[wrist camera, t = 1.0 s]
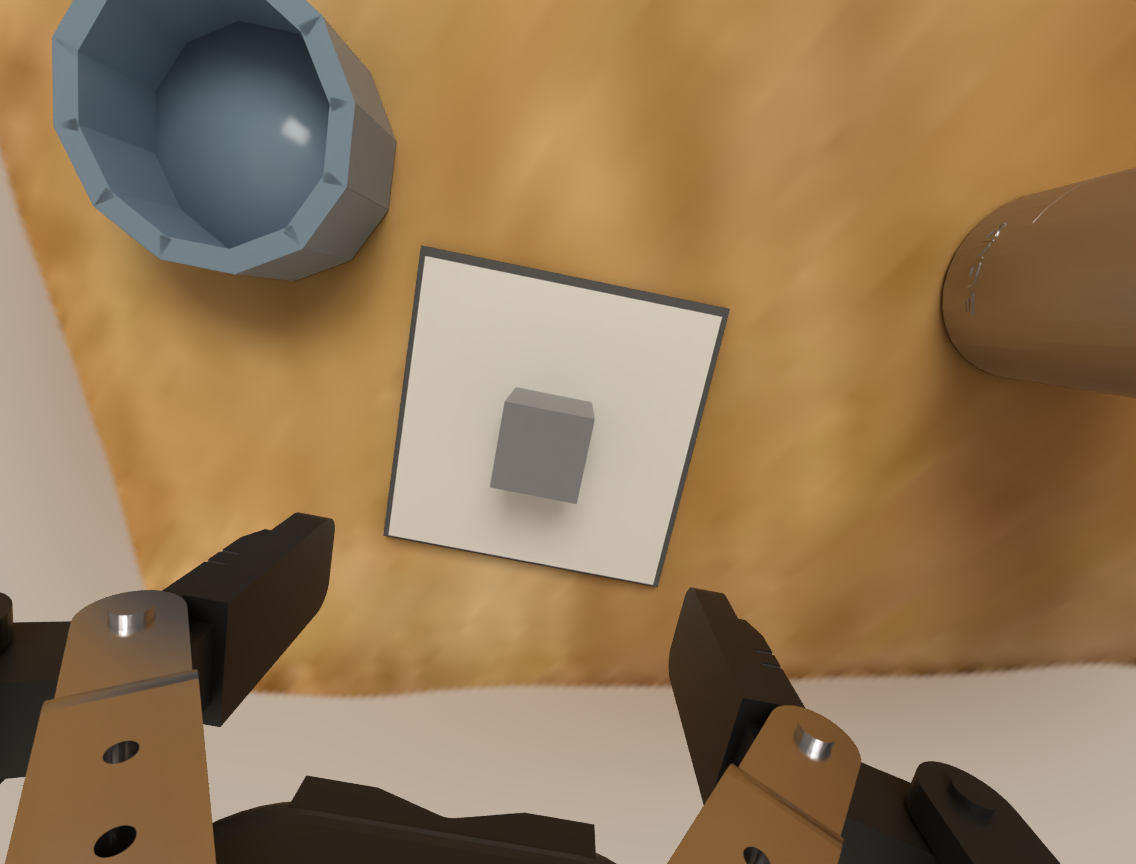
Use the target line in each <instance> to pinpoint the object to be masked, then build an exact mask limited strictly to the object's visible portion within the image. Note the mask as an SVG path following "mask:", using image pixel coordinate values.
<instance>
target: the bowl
mask: <svg viewBox="0 0 1136 864" xmlns="http://www.w3.org/2000/svg"><path fill="white" fill-rule="evenodd" d="M52 65H53V124H54V128H55V130H56V132H57V134H58V136H59V138H60V140H61V142H62V144H63V146H64V148H65V150H66V152H67V154H68V156H69V158H70V160H71V162H72V164H73V166H74V168H75V170H76V172H77V174H78V176H79V178H80V180H81V182H82V184H83V186H84V188H85V190H86V192H87V194H88V196H89V198H90V200H91V202H92V204H93V206H94V207H95V208H96V209H98V210H99V211H100V212H101V213H103V214H104V215H105V216H106V217H108V218H109V219H110V220H111V221H113V222H114V223H115V224H116V225H117V226H119V227H120V228H121V229H122V230H124V231H125V232H126V233H127V234H129V235H130V236H131V237H132V238H134V239H135V240H136V241H137V242H139V243H140V244H141V245H142V246H144V247H145V248H146V249H147V250H149V251H150V252H151V253H152V254H154V255H155V256H156V257H157V258H158V259H161V260H166V261H171V262H176V263H181V264H186V265H191V266H196V267H201V268H206V269H211V270H215V271H220V272H225V273H230V274H236V275H245V276H254V277H263V278H272V279H281V280H290V281H296V280H299V279H302V278H304V277H307V276H310V275H313V274H315V273H318V272H321V271H323V270H326V269H329V268H331V267H334V266H337V265H340V264H342V263H345V262H348V261H350V260H352V258H353V257H354V256H355V254H356V253H357V252H358V250H359V249H360V248H361V246H362V245H363V244H364V242H365V241H366V240H367V238H368V237H369V236H370V234H371V233H372V232H373V230H374V229H375V228H376V226H377V225H378V223H379V222H380V221H381V219H382V218H383V217H384V215H385V214H386V213H387V211H388V210H389V201H390V192H391V184H392V175H393V166H394V158H395V149H396V139H395V137H394V134H393V131H392V129H391V126H390V123H389V121H388V118H387V115H386V113H385V110H384V107H383V105H382V102H381V99H380V97H379V94H378V91H377V89H376V86H375V83H374V81H373V78H372V75H371V73H370V71H369V70H368V69H367V68H366V67H365V65H364V64H363V63H362V62H361V61H360V60H359V58H358V57H357V56H356V55H355V54H354V53H353V51H352V50H351V49H350V48H349V47H348V45H347V44H346V43H345V42H344V41H343V40H342V38H341V37H340V36H339V35H338V34H337V33H336V31H335V30H334V29H333V28H332V27H331V26H330V24H329V23H328V22H327V21H326V20H325V18H324V17H323V16H322V15H321V14H320V13H319V12H318V11H317V10H316V9H315V8H313V7H312V6H311V5H310V4H309V3H308V2H307V1H306V0H73V2H72V3H71V5H70V7H69V9H68V10H67V12H66V14H65V16H64V17H63V19H62V21H61V23H60V25H59V26H58V28H57V30H56V32H55V33H54V35H53V37H52Z"/></svg>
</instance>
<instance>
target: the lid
mask: <svg viewBox="0 0 1136 864" xmlns="http://www.w3.org/2000/svg"><path fill="white" fill-rule="evenodd" d="M721 319H722V317H720V316H715V315H710V314H705V313H700V312H696V311H691V310H686V309H681V308H676V307H671V306H666V305H661V304H657V303H652V302H647V301H642V300H637V299H632V298H627V297H623V296H618V295H613V294H608V293H603V292H598V291H593V290H588V289H584V288H579V287H574V286H569V285H564V284H559V283H554V282H549V281H545V280H540V279H535V278H530V277H525V276H520V275H515V274H510V273H506V272H501V271H496V270H491V269H486V268H481V267H476V266H472V265H467V264H462V263H457V262H452V261H447V260H442V259H437V258H433V257H428V256H425V261H424V269H423V276H422V284H421V291H420V299H419V307H418V314H417V322H416V329H415V337H414V345H413V352H412V360H411V367H410V375H409V382H408V390H407V398H406V405H405V413H404V420H403V428H402V436H401V443H400V451H399V458H398V466H397V473H396V481H395V489H394V496H393V504H392V511H391V519H390V527H389V534H388V535H391V536H396V537H401V538H407V539H412V540H417V541H423V542H428V543H433V544H439V545H444V546H449V547H454V548H460V549H465V550H470V551H476V552H481V553H486V554H492V555H497V556H502V557H508V558H513V559H518V560H523V561H529V562H534V563H539V564H545V565H550V566H555V567H561V568H566V569H571V570H576V571H582V572H587V573H592V574H598V575H603V576H608V577H614V578H619V579H624V580H629V581H635V582H640V583H645V584H651V585H653V583H654V579H655V575H656V571H657V568H658V564H659V560H660V556H661V552H662V548H663V544H664V540H665V536H666V533H667V529H668V525H669V521H670V517H671V513H672V509H673V505H674V502H675V498H676V494H677V490H678V486H679V482H680V478H681V474H682V471H683V467H684V463H685V459H686V455H687V451H688V447H689V443H690V439H691V436H692V432H693V428H694V424H695V420H696V416H697V412H698V408H699V405H700V401H701V397H702V393H703V389H704V385H705V381H706V377H707V374H708V370H709V366H710V362H711V358H712V354H713V350H714V346H715V342H716V339H717V335H718V331H719V327H720V323H721Z"/></svg>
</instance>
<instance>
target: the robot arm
mask: <svg viewBox="0 0 1136 864" xmlns="http://www.w3.org/2000/svg"><path fill="white" fill-rule="evenodd" d="M942 310H943V315H944V321H945V326H946V329H947V332H948V334H949V336H950V338H951V341H952V343H953V345H954V346H955V347H956V348H957V350H958V351H959V352H960V354H961V355H962V356H963V357H964V358H965V359H966V360H967V361H969V362H970V363H971V364H972V365H974V366H975V367H976V368H978V369H980V370H983V371H985V372H987V373H989V374H991V375H995V376H1000V377H1005V378H1010V379H1017V380H1023V381H1030V382H1036V383H1043V384H1049V385H1056V386H1062V387H1067V388H1073V389H1080V390H1086V391H1093V392H1099V393H1106V394H1112V395H1119V396H1126V397H1132V398H1136V168H1133V169H1129V170H1125V171H1121V172H1117V173H1113V174H1108V175H1104V176H1101V177H1097V178H1093V179H1089V180H1085V181H1081V182H1078V183H1074V184H1070V185H1066V186H1062V187H1058V188H1055V189H1051V190H1047V191H1043V192H1039V193H1035V194H1032V195H1028V196H1024V197H1021V198H1019V199H1016V200H1014V201H1012V202H1010V203H1007V204H1005V205H1003V206H1001V207H1000V208H998V209H997V210H995V211H994V212H993V213H991V214H990V215H988V216H987V217H985V218H984V219H983V220H982V221H981V222H980V223H979V224H978V225H977V226H976V227H975V228H974V229H973V230H972V231H971V232H970V233H969V234H968V236H967V237H966V238H965V240H964V241H963V243H962V244H961V246H960V247H959V249H958V250H957V251H956V254H955V256H954V258H953V260H952V262H951V265H950V267H949V269H948V272H947V276H946V280H945V284H944V289H943V307H942ZM334 532H335V525H334V521H333V519H330V518H325V517H320V516H315V515H309V514H304V513H298V512H297V513H295V514H293V515H292V516H290V517H289V518H287V519H286V520H285V521H283V522H282V523H281V524H279V525H278V526H276V527H275V528H274V529H272V530H267V529H264V530H261V531H258V532H255V533H252V534H249V535H246V536H243V537H241V538H239V539H238V540H236V541H235V542H233V543H232V544H230V545H229V546H227V547H226V548H224V549H223V551H222V552H218V553H217V554H215V555H214V556H213V557H211V558H210V559H209V560H208V562H204V563H202V564H201V565H199V566H198V567H196V568H195V569H193V570H192V571H190V572H189V573H187V574H186V575H185V576H183V577H182V578H180V579H179V580H177V581H176V582H174V583H173V584H171V585H170V586H168V587H167V588H165V589H164V590H162V591H157V590H141V591H132V592H126V593H120V594H116V595H112V596H109V597H106V598H103V599H101V600H98V601H96V602H94V603H92V604H90V605H88V606H86V607H85V608H83V609H82V610H80V611H79V612H78V613H77V614H76V615H75V616H74V617H73V619H72V621H70V622H19V623H13V611H12V610H13V609H12V600H11V599H10V598H9V597H8V596H7V595H5V594H3V593H0V784H1V783H2V782H3V781H4V780H5V779H8V778H18V777H25V781H24V785H23V790H22V794H21V798H20V802H19V807H18V811H17V815H16V819H15V823H14V828H13V832H12V836H11V840H10V844H9V849H8V853H7V857H6V862H5V864H616V863H614V862H613V861H611V860H609V859H608V858H606V857H604V856H602V855H600V854H597V853H596V852H595V830H594V824H588V823H582V822H576V821H570V820H564V819H558V818H552V817H547V816H541V815H535V814H529V813H515V814H502V815H491V816H478V817H464V818H446V817H442V816H440V815H438V814H435V813H433V812H431V811H429V810H426V809H424V808H422V807H420V806H417V805H415V804H413V803H411V802H409V801H406V800H404V799H402V798H400V797H398V796H395V795H393V794H391V793H389V792H386V791H384V790H382V789H380V788H376V787H371V786H365V785H359V784H353V783H347V782H341V781H335V780H330V779H324V778H318V777H312V776H306V777H305V779H304V780H303V782H302V784H301V786H300V787H299V789H298V791H297V793H296V794H295V796H294V798H293V800H292V801H291V802H281V803H275V804H270V805H264V806H259V807H256V808H252V809H249V810H245V811H241V812H239V813H236V814H233V815H231V816H228V817H225V818H223V819H220V820H218V821H216V822H214V823H212V815H211V804H210V794H209V783H208V773H207V762H206V752H205V742H204V730H203V724H205V725H211V726H217V727H221V726H222V725H223V723H224V722H225V721H226V720H227V719H228V717H229V716H230V715H231V714H232V713H233V711H234V710H235V709H236V708H237V707H238V706H239V704H240V703H241V702H242V701H243V700H244V699H245V697H246V696H247V695H248V694H249V693H250V692H251V690H252V689H253V688H254V687H255V686H256V684H257V683H258V682H259V681H260V680H261V679H262V677H263V676H264V675H265V674H266V673H267V671H268V670H269V669H270V668H271V667H272V666H273V664H274V663H275V662H276V661H277V660H278V659H279V657H280V656H281V655H282V654H283V653H284V651H285V650H286V649H287V648H288V647H289V646H290V644H291V643H292V642H293V641H294V640H295V638H296V637H297V636H298V635H299V634H300V633H301V631H302V630H303V629H304V628H305V627H306V625H307V624H308V623H309V622H310V621H311V620H312V618H313V617H314V616H315V615H316V614H317V612H318V611H319V609H320V608H321V606H322V604H323V602H324V599H325V596H326V593H327V590H328V585H329V577H330V568H331V559H332V550H333V541H334ZM669 677H670V681H671V685H672V689H673V692H674V696H675V700H676V704H677V707H678V711H679V715H680V718H681V722H682V726H683V729H684V733H685V737H686V740H687V745H688V748H689V752H690V756H691V759H692V763H693V767H694V771H695V774H696V778H697V782H698V785H699V789H700V793H701V797H702V800H703V804H704V806H703V808H702V809H701V811H700V813H699V814H698V816H697V817H696V819H695V821H694V822H693V824H692V825H691V827H690V828H689V830H688V831H687V833H686V835H685V836H684V838H683V839H682V841H681V843H680V844H679V846H678V847H677V849H676V850H675V852H674V854H673V855H672V857H671V858H670V860H669V862H668V863H667V864H1060V863H1059V862H1058V860H1057V859H1056V858H1055V857H1054V856H1053V854H1052V853H1051V852H1050V851H1049V850H1048V848H1047V847H1046V846H1045V845H1044V844H1043V842H1042V841H1041V840H1040V839H1039V838H1038V836H1037V835H1036V834H1035V833H1034V832H1033V830H1032V829H1031V828H1030V827H1029V826H1028V825H1027V823H1026V822H1025V821H1024V820H1023V819H1022V817H1021V816H1020V815H1019V814H1018V813H1017V811H1016V810H1015V809H1014V808H1013V807H1012V806H1011V805H1010V804H1009V803H1008V802H1007V801H1006V800H1005V799H1004V798H1003V797H1002V796H1001V795H999V794H998V793H997V792H996V791H995V790H993V789H992V788H991V787H989V786H988V785H986V784H985V783H984V782H982V781H980V780H979V779H977V778H976V777H974V776H972V775H970V774H969V773H967V772H965V771H963V770H960V769H958V768H956V767H953V766H950V765H948V764H944V763H940V762H934V761H931V762H930V761H928V762H923V763H922V764H920V765H919V766H918V768H917V770H916V772H915V775H914V777H913V780H912V782H911V783H909V782H907V781H905V780H903V779H900V778H897V777H895V776H893V775H890V774H888V773H885V772H883V771H880V770H878V769H876V768H873V767H871V766H869V765H866V764H864V763H862V762H861V757H860V753H859V751H858V748H857V747H856V745H855V744H854V742H853V741H852V740H851V738H850V737H849V736H848V735H847V734H846V733H845V732H844V731H843V730H842V729H840V728H839V727H838V726H837V725H836V724H834V723H833V722H831V721H830V720H828V719H827V718H825V717H824V716H822V715H820V714H818V713H815V712H813V711H811V710H809V709H806V708H805V707H804V705H803V703H802V702H801V700H800V698H799V697H798V695H797V693H796V692H795V690H794V688H793V686H792V685H791V683H790V681H789V680H788V678H787V676H786V675H785V673H784V671H783V669H780V664H779V663H778V661H777V659H776V658H775V656H774V655H772V651H771V649H770V648H769V646H768V644H767V642H766V641H765V639H764V637H763V636H762V635H761V634H760V633H759V632H758V631H757V630H756V629H755V628H753V627H752V626H751V625H750V624H749V623H748V622H747V621H746V620H742V619H738V618H737V616H736V614H735V612H734V610H733V609H732V607H731V605H730V603H729V601H728V599H727V598H726V596H725V595H724V594H723V593H718V592H713V591H707V590H702V589H697V588H689V589H688V591H687V593H686V595H685V598H684V602H683V605H682V609H681V612H680V616H679V620H678V623H677V627H676V630H675V634H674V638H673V641H672V645H671V649H670V655H669Z"/></svg>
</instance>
